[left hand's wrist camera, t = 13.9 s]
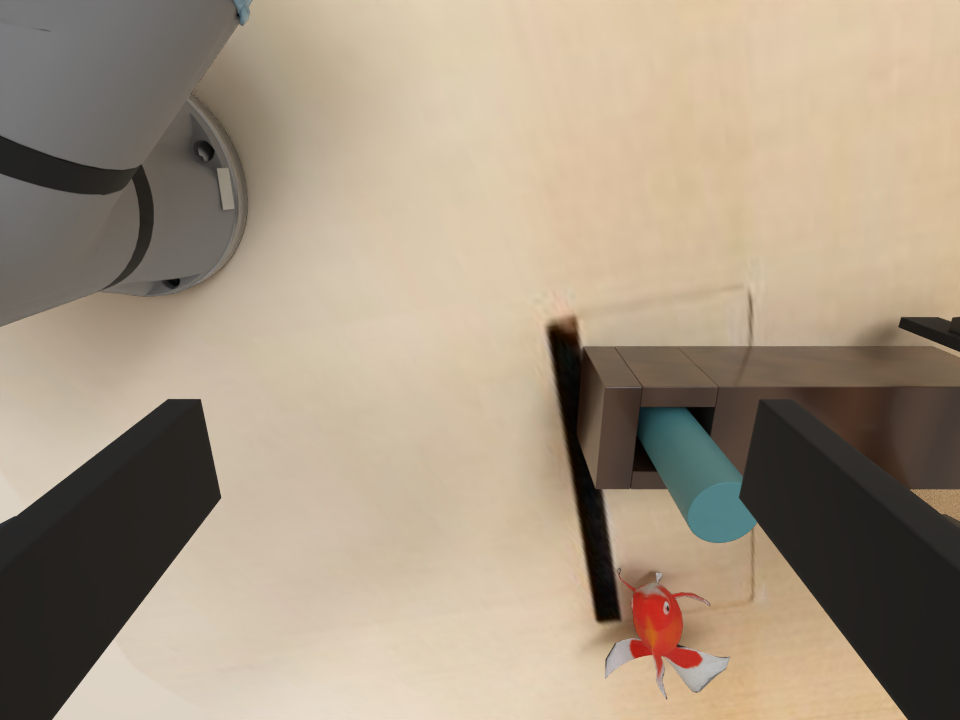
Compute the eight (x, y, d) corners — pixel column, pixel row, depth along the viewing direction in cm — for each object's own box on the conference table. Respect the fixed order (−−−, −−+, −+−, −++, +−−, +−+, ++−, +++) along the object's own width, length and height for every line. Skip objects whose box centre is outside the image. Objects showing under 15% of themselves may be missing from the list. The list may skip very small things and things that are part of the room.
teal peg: (610, 407, 43) (673, 528, 29) (635, 366, 42) (714, 471, 28) (652, 426, 44) (733, 553, 30) (678, 386, 42) (777, 498, 28)
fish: (754, 566, 44) (758, 701, 38) (715, 626, 55) (714, 738, 49) (622, 536, 47) (605, 655, 41) (611, 599, 58) (597, 700, 52)
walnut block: (576, 434, 45) (595, 489, 38) (582, 346, 42) (605, 386, 35) (903, 434, 45) (988, 489, 38) (932, 346, 42) (1030, 386, 35)
